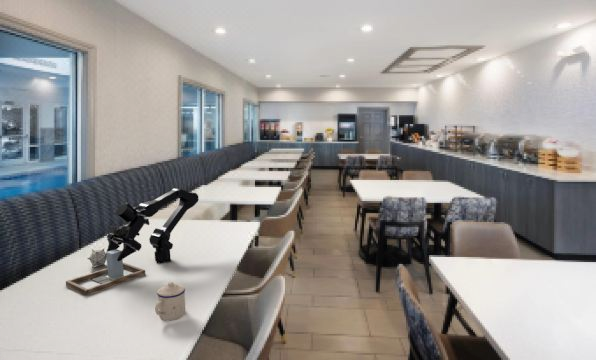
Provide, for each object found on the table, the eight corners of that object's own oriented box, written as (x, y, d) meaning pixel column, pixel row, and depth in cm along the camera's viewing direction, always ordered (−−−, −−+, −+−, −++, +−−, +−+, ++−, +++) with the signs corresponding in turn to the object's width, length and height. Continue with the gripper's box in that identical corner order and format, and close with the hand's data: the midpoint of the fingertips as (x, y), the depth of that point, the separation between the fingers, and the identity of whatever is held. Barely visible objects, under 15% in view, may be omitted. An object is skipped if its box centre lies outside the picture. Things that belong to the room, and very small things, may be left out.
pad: (118, 272, 174) (117, 272, 174) (127, 276, 170) (127, 275, 170) (104, 277, 169) (104, 276, 169) (113, 281, 165) (113, 280, 165)
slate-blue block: (118, 273, 173) (116, 249, 171) (123, 275, 170) (121, 251, 168) (108, 276, 169) (106, 251, 167) (113, 278, 166) (111, 253, 165)
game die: (101, 274, 182) (97, 262, 175) (85, 267, 183) (81, 255, 176) (114, 260, 188) (111, 248, 181) (99, 253, 189) (95, 240, 183)
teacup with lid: (171, 306, 141) (169, 275, 140) (191, 311, 138) (190, 279, 136) (146, 322, 131) (144, 289, 129) (167, 327, 127) (165, 293, 125)
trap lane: (124, 266, 181) (124, 262, 181) (145, 274, 172) (145, 270, 172) (66, 285, 161) (65, 281, 160) (86, 295, 151) (85, 290, 151)
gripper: (108, 215, 175) (86, 245, 167) (133, 221, 164) (109, 253, 157) (126, 228, 182) (105, 258, 175) (150, 234, 171) (129, 266, 164)
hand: (111, 258), depth 167 cm, fingers open, 9 cm apart
